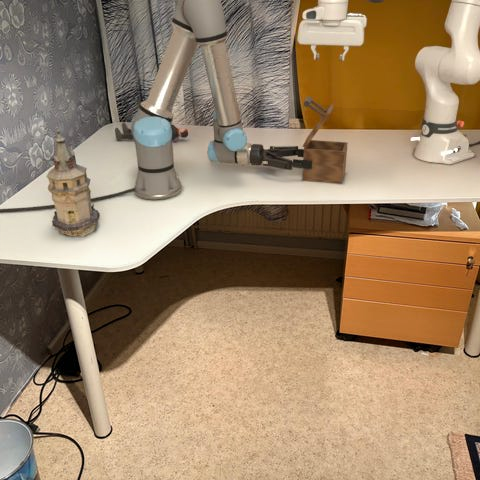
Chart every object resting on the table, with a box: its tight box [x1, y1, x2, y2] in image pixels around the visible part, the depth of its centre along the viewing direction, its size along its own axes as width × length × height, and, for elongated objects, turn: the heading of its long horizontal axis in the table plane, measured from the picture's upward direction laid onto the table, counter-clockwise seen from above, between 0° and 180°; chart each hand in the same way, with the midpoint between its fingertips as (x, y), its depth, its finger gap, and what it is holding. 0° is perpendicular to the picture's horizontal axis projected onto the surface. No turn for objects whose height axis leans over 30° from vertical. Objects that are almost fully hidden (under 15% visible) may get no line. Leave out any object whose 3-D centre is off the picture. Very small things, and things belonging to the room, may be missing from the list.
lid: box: [302, 95, 335, 149], centre depth 179 cm, size 14×10×9 cm
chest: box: [302, 139, 348, 185], centre depth 184 cm, size 14×10×11 cm
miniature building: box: [46, 129, 101, 237], centre depth 148 cm, size 13×14×30 cm
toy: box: [114, 121, 189, 142], centre depth 223 cm, size 26×6×30 cm
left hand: (314, 159), depth 185 cm, fingers closed on chest, 10 cm apart
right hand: (329, 60), depth 168 cm, fingers open, 6 cm apart
